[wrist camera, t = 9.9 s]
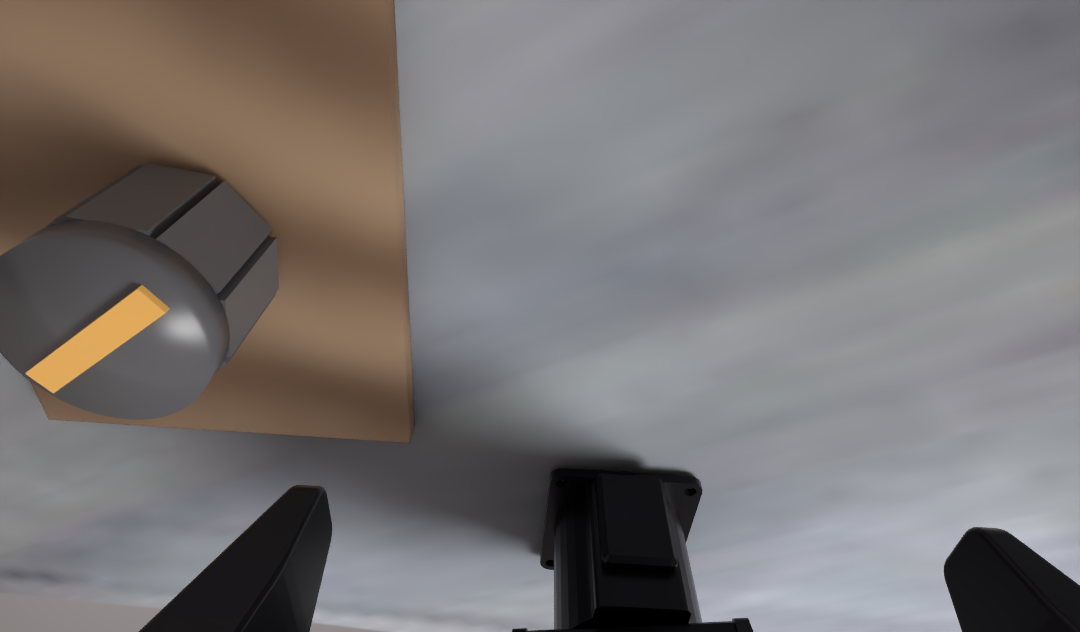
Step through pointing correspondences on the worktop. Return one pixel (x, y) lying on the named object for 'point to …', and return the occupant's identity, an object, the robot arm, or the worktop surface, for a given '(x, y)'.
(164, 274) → the grey dial knob
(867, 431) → the worktop surface
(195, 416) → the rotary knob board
